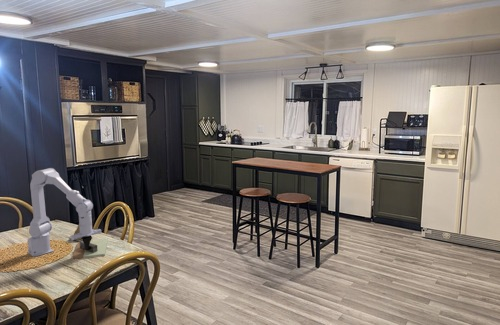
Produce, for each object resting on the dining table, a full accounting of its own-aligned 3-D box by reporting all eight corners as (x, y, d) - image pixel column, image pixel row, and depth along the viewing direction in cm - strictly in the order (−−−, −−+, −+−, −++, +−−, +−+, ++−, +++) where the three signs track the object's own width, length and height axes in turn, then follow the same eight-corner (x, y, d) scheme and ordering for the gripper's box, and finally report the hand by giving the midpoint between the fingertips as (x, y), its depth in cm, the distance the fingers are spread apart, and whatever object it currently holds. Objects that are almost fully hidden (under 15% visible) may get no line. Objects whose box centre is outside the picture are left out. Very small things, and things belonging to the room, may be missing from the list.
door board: (78, 243, 189) (78, 235, 189) (107, 240, 194) (107, 232, 194) (72, 259, 169) (71, 250, 168) (105, 255, 174) (104, 247, 173)
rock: (94, 235, 196) (93, 228, 204) (84, 226, 192) (82, 218, 200) (78, 248, 193) (77, 240, 202) (67, 239, 189) (66, 231, 197)
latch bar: (81, 248, 179) (81, 243, 179) (86, 247, 181) (85, 241, 181) (93, 252, 174) (92, 246, 174) (97, 250, 177) (97, 245, 176)
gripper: (73, 229, 166) (75, 256, 167) (103, 222, 176) (104, 248, 178) (68, 226, 170) (69, 252, 172) (97, 220, 181) (98, 244, 183)
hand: (87, 249), depth 175 cm, fingers closed, pressing on latch bar
